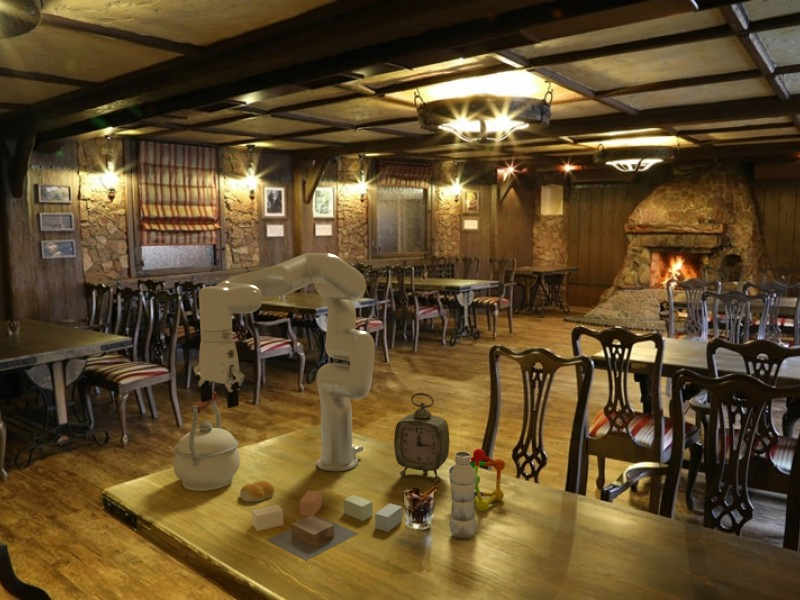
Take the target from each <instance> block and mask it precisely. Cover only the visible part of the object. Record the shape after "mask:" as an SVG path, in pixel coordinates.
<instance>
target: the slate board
mask: <svg viewBox="0 0 800 600" xmlns="http://www.w3.org/2000/svg"><path fill="white" fill-rule="evenodd" d="M316 517H317V518H319V519H321V520H323V521H326V522H328V523H330V524H332V525H334V538H332V539H330V540H328V541H326V542H324V543H322V544H320V545H318V546H316V547H313V546H311V545H309V544H307V543H305V542H303V541H301V540H299V539H297V538H295V537H292V528H290V529H288V530H285V531H283V532H281V533H279V534H277V535H275V536H272V537H270V538H268V539H266V541H267V542H269V543H271V544H273V545H275V546H277V547H279V548H280V549H283V550H284V551H287V552H288V553H290V554H292V555H294V556H296V557H297V558H300V559H301V560H304V561H305V562H306V561H309V560H311V559H312V558H315V557H317V556H319V555H320V554H322V553H324V552H326V551H328V550H330V549H332V548H334V547H336V546H337V545H339V544H341V543H344V542H345V541H347V540H349V539H351V538H353V537H354V536H356V535H358V534H359V533H358V532H356V531H353V530H352V529H349V528H347V527H345V526H343V525H340V524H338V523H335V522H333V521H331V520H328V519H327V518H324V517H321V516H319V515H317V516H316Z"/></svg>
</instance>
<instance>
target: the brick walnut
mask: <svg viewBox="0 0 800 600" xmlns="http://www.w3.org/2000/svg"><path fill="white" fill-rule="evenodd" d="M317 517H318V516H315V515H314V516H312V515H310V516H306V517H304V518H301V519H299V520H297V521H295V522H292V523H291V529H292V537H295V538H297V539H299V540H301V541H303V542H305V543H307V544H309V545H311V546H313V547H316V546H318V545H320V544H322V543H324V542H326V541H328V540H330V539H332V538H334V525H332V524H330V523H328V522H326V521H323V520H321V519H319V518H317Z"/></svg>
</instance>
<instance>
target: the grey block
mask: <svg viewBox="0 0 800 600" xmlns="http://www.w3.org/2000/svg"><path fill="white" fill-rule="evenodd" d="M374 516H375V517H374V523H375V525H374V527H375V529H376V530H379V531H384V532H386V533H389V532H390V531H391V530H393V529H394V528H396V527H397V526H398V525H399V524H400V523H402V522H403V506H401V505H397V504H394V503H390V502H389V503H388V504H387V505H385V506H384V507H383V508H380V510H378V511H377V512H375V513H374Z"/></svg>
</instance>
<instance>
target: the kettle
mask: <svg viewBox="0 0 800 600" xmlns="http://www.w3.org/2000/svg"><path fill="white" fill-rule="evenodd" d="M217 398H218V395H217V393H216V391H212V400H210V401H206V402H201V399H199V401H197V403H195V404H192V406H191V408H190V410H191V412H192V423H191V428H190V432H188V433H186V434H184V435H183V436H182V437H181V438H180V439H179V440H178V443H177V444H176V445H175V446H174V449H173V451H174V453H175V457H174V460H173V471H174V474H175V476H176V478H178V480H179V481H181V482H182V486H183V487H184V488H185V489H187V490H189V491H194V492H208V491H210V492H211V491H214V490H218V489H219V490H220V489H221V488H224V487H227V486H228V485H230V484H231V482H232V481H233V480H234V476H235V474H236V473H237V472H238V470H239V468H240V466H241V456H240V452H239V449H238V446H239V442H238V439H236V438H235V437H234V435H233V434H232V433H231V432H230V431H228V430H226V429H224V428H222V419H221V418H222V417H221V413H220V410H219V408H218V406H217ZM209 405H211V408H212V409H213V411H214V414H215V421H216V422H215V427H214V426H213V425H212V423H211V422H209V421H206V420H205V421H203V422H202V423H201V424H200V425H199V426H198V423H199V422H198V421H199V413H201V412H202V410H204V409H206V408H207V407H208V406H209ZM197 426H198V427H197ZM197 428H198V429H197Z"/></svg>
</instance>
